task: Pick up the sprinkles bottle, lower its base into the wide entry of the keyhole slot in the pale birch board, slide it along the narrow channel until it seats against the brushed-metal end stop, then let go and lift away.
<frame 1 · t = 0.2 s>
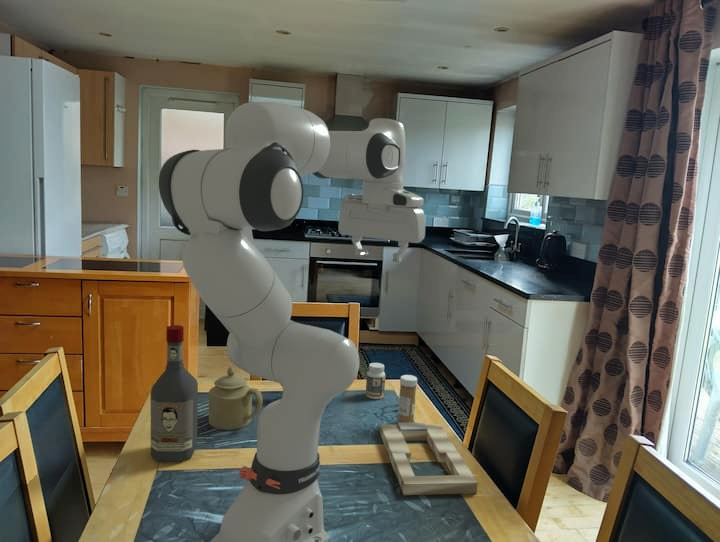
hand: (378, 258, 120), 48 cm above the table, fingers open, 8 cm apart
sugar bowl: (237, 422, 143), on the table
bowl: (307, 402, 158), on the table
keyhole board: (423, 460, 128), on the table
pill bottle: (374, 396, 165), on the table
liquor: (174, 454, 124), on the table
sprinkles bottle: (405, 424, 147), on the table
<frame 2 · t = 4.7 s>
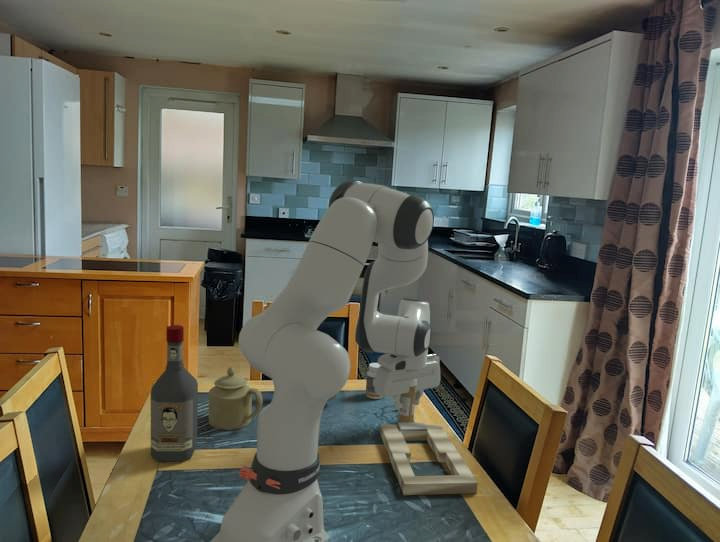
hand: (406, 406, 146), 5 cm above the table, fingers closed on sprinkles bottle, 4 cm apart
sprinkles bottle: (405, 424, 147), on the table, touching gripper
everything else where it was.
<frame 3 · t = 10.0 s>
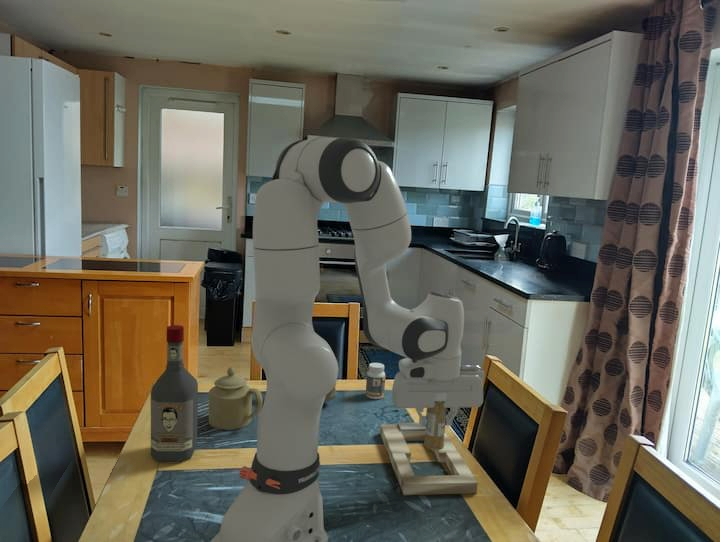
hand: (435, 424, 120), 12 cm above the table, fingers closed on sprinkles bottle, 4 cm apart
sprinkles bottle: (433, 447, 121), point 6 cm above the table, touching gripper
everything else where it was.
when the fingers open (5 cm above the table, at t = 15.6 s): sprinkles bottle stays where it is, resting in keyhole board.
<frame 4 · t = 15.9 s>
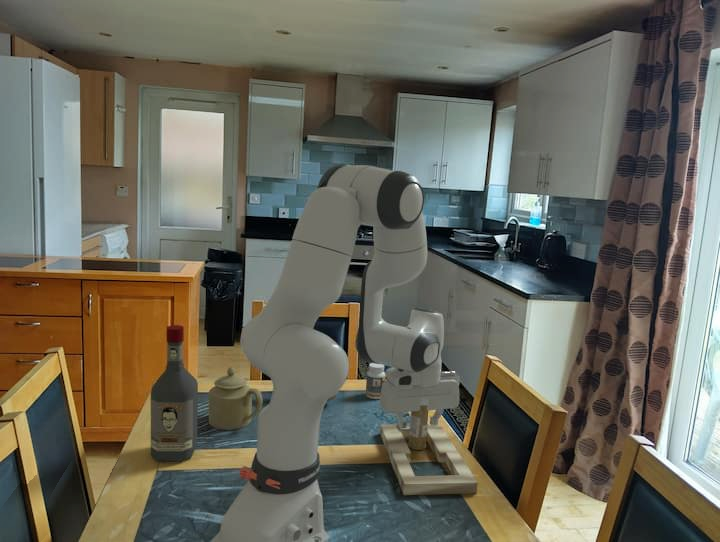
hand: (418, 426, 134), 5 cm above the table, fingers open, 7 cm apart
sprinkles bottle: (416, 447, 135), resting in keyhole board
everything else where it was.
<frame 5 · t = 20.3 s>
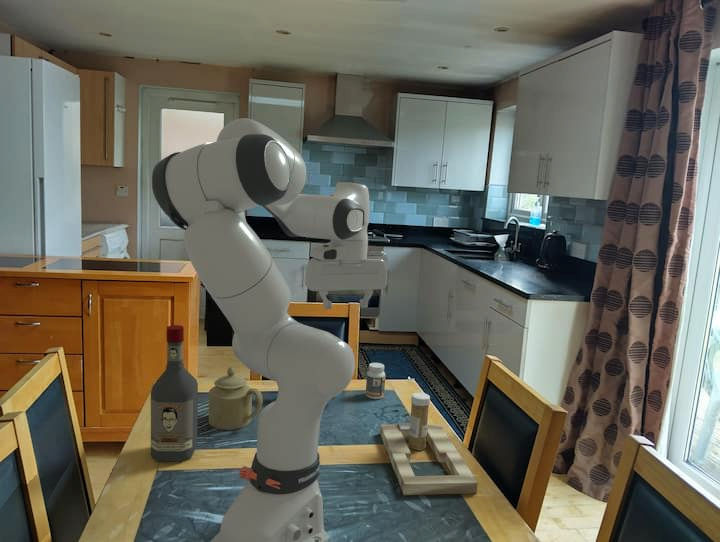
hand: (345, 307, 130), 34 cm above the table, fingers open, 8 cm apart
nothing on the table moved.
at the end: sprinkles bottle 0.1 cm from the target spot, resting in keyhole board; sprinkles bottle tilted 0°; the gripper is holding nothing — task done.
